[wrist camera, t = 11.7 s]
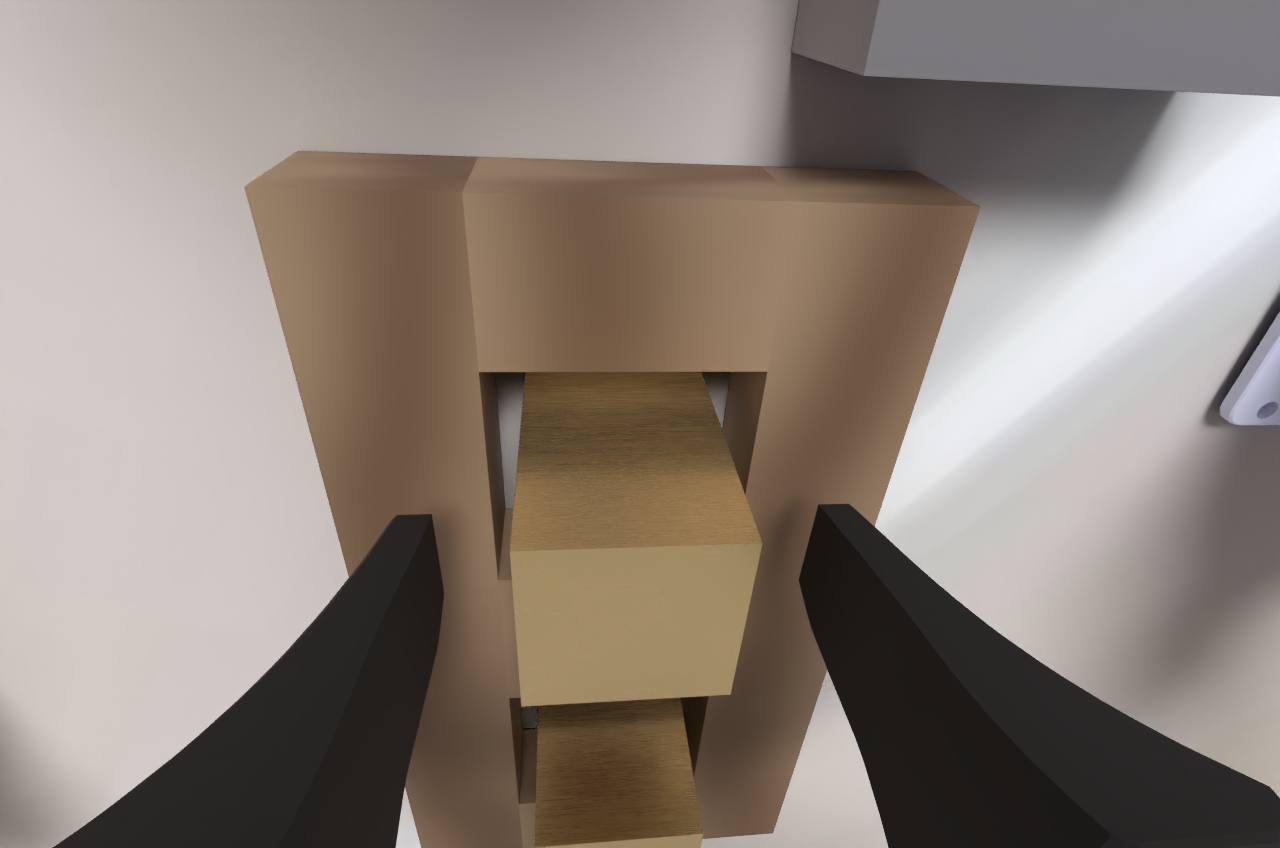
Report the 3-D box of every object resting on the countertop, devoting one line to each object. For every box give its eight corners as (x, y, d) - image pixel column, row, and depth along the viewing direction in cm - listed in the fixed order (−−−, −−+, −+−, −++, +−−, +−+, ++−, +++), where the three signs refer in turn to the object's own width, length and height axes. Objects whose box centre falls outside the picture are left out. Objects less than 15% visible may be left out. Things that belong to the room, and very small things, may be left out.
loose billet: (698, 364, 16) (762, 543, 11) (683, 495, 18) (730, 694, 13) (526, 364, 15) (510, 551, 10) (532, 498, 17) (521, 706, 12)
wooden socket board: (916, 171, 14) (980, 206, 12) (755, 764, 26) (772, 833, 24) (297, 150, 12) (244, 187, 10) (436, 786, 24) (425, 861, 22)
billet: (669, 631, 21) (702, 833, 16) (660, 707, 23) (687, 905, 18) (540, 637, 20) (534, 847, 16) (543, 713, 23) (539, 919, 18)
